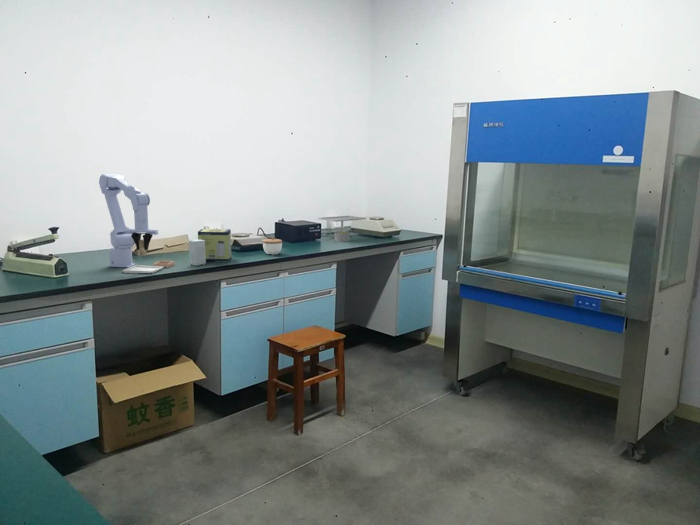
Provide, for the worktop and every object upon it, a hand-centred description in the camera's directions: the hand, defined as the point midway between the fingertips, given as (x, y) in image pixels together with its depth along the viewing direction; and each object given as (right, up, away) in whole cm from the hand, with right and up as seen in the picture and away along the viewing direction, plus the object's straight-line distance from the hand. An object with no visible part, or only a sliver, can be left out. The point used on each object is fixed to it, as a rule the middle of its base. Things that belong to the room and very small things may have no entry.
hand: (142, 249), depth 256 cm
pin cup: (+5, -8, +14) cm, 17 cm away
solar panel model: (+89, +8, +112) cm, 144 cm away
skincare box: (+20, -7, +21) cm, 29 cm away
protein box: (+25, -5, +33) cm, 42 cm away
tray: (0, -10, +2) cm, 10 cm away
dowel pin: (0, -2, +1) cm, 2 cm away
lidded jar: (+52, -1, +55) cm, 75 cm away
